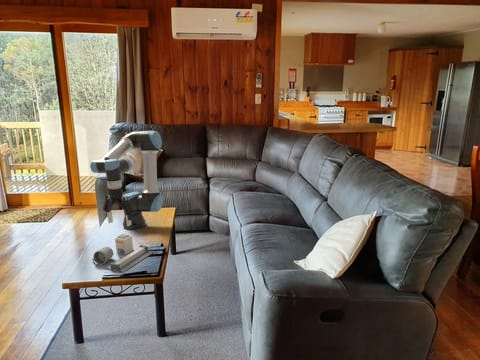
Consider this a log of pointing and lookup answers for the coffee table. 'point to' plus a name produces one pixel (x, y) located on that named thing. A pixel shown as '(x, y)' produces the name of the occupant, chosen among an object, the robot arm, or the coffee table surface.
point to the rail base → (130, 259)
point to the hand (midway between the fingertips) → (119, 224)
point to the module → (124, 243)
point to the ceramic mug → (102, 255)
